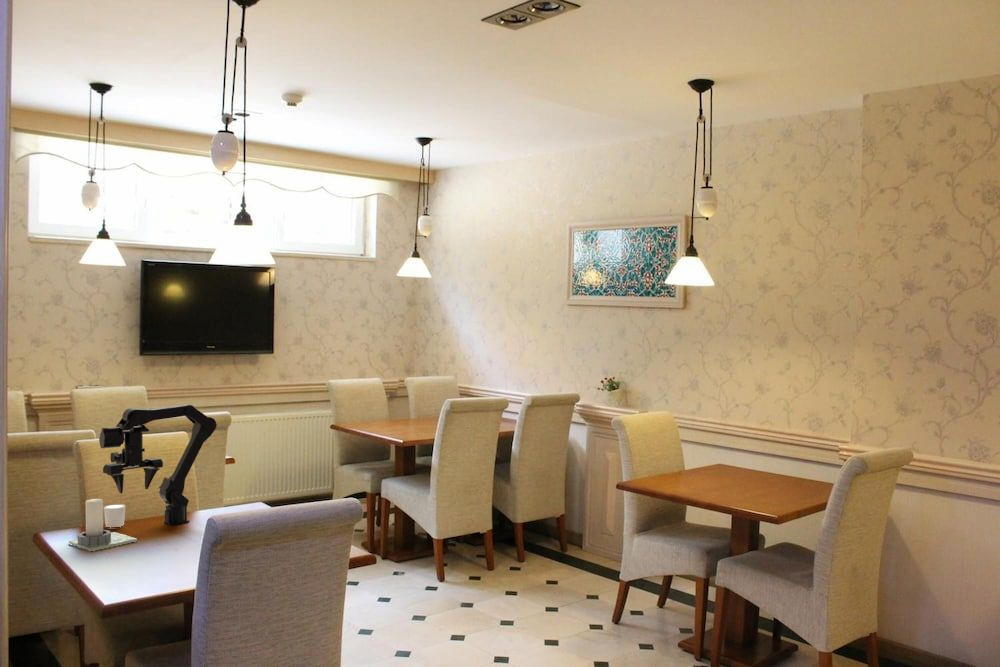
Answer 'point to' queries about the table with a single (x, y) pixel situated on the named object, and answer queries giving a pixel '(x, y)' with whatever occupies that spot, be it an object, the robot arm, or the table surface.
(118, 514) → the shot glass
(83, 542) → the grey ring base plate
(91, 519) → the post
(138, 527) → the table surface
